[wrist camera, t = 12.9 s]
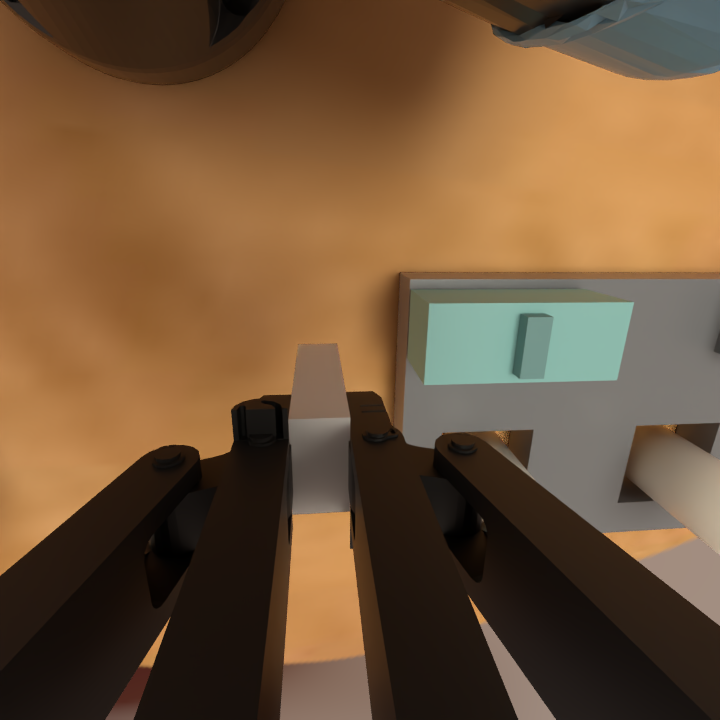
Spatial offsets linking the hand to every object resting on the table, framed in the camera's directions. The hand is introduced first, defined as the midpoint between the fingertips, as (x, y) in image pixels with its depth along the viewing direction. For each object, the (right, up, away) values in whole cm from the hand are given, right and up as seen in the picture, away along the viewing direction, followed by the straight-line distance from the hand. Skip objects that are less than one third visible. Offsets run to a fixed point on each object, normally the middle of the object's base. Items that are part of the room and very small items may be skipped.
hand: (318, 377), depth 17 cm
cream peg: (+22, -6, +15) cm, 28 cm away
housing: (+16, -2, +13) cm, 21 cm away
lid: (+9, +3, +8) cm, 12 cm away
